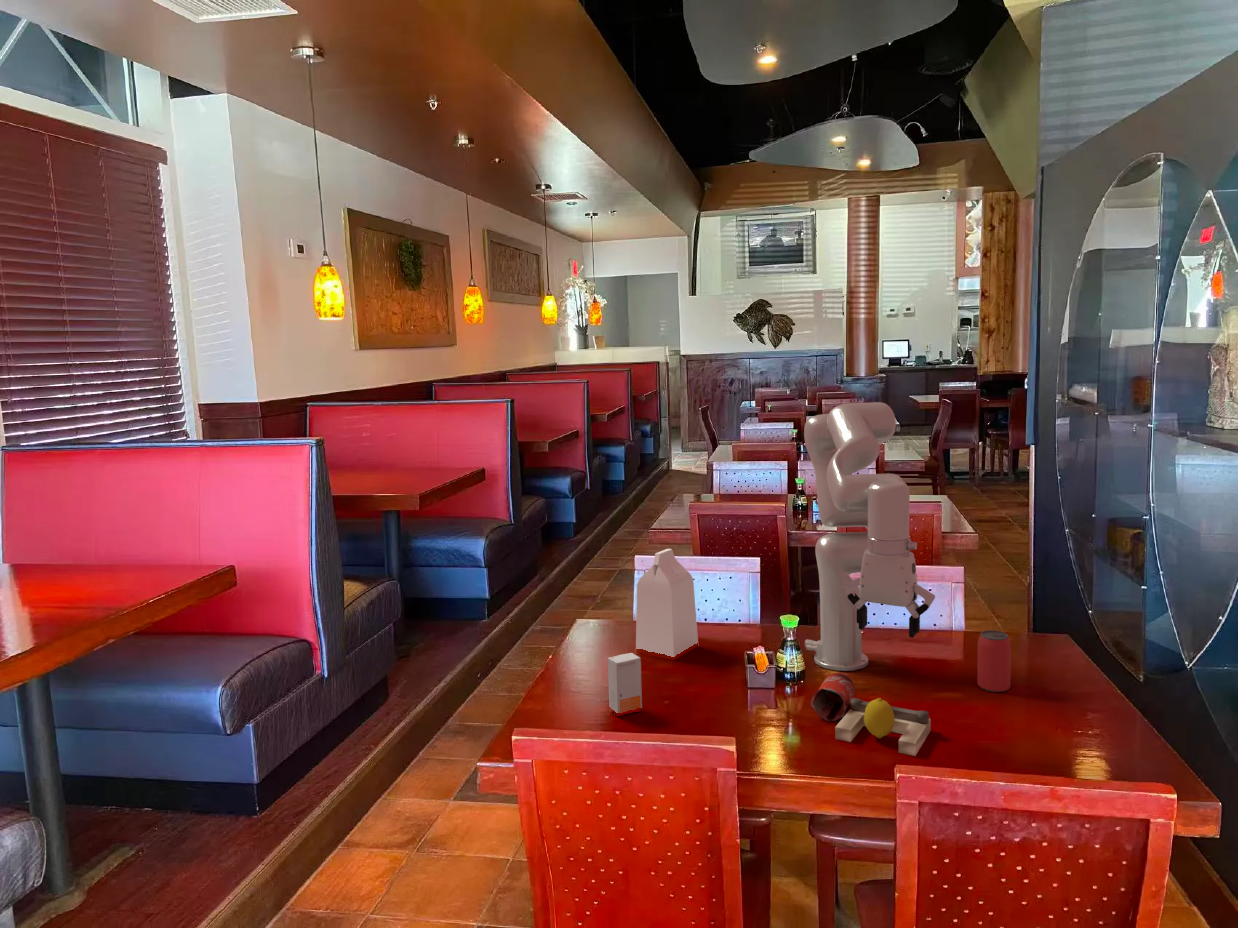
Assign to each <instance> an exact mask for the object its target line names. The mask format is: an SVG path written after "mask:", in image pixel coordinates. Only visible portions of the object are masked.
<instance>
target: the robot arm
mask: <svg viewBox="0 0 1238 928" xmlns="http://www.w3.org/2000/svg"><path fill="white" fill-rule="evenodd" d="M896 422H897V421H896V415H895V413H894V411H893V409H892V408H891V406H890V405H888V404H887V403H885V402H879V401H877V402H876V401H872V402H849V403H842V404H839V405H836V406H835V407H833V408H832V409H831V410H830V411H829V412H828V413H822V414H816V415H814V416H811V417H809V418H808V419H807V420H806V422H805V423H804V430H803V431H804V432H803V437H804V442H805V443H804V444H805V447H806V451H807V453H808V456H809V459H810V461H811V463H812V466H813V468H814V469H813V470H814V474H815V483H816V484H815V486H816V500H817V508H818V509H817V510H818V515H819V519H820V522H821V523H822V525H824V526H826V527H828V528H855V527H857V528H858V527H860V528H861V527H864V528H866V530H867V531H859V532H856V531H855V532H854V531H852V532H851V531H850V532H849V531H848V532H835V533H833V532H832V533H828V534H824V535H822V536H820V537H819V538H818V539H817V541H816V543H815V549H814V550H815V551H814V552H815V558H816V564H817V569H818V580H819V599H820V600H819V609H820V610H819V611H820V613H819V614H820V616H819V617H820V639H818V640H817V641H816V640H813V639H805V640H804V647H805V649H806V651H813V652H815V654H814V656H813V658H814V659H813V661H814V662H815V664H816V665H818V666H819V667H821V668H824V669H827V670H832V671H838V672H840V671H841V672H847V671H849V672H851V671H858V670H862V669H864V668H865V667H867V666H868V665H869V657H868V656H867V655H866V654H864V653H862V630H864V628H866V627H867V625H868V606H867V605H866V603H867V602H868V603H873V604H879V605H887V606H894V607H901V608H905V609H906V610H907V611H908V613H909V614H910V617H909V619H908V637H909V638H912V639H913V638H914V637H915V636H916V635H917V634H918V633H920V629H921V615H923V614H924V613H925V612H926V611H928V610H929V609H930V607H931V605H932V604H933V602H934V601H935V599H936V595H935V594H933V593H932V592H930V591H929V590H928V589H926V588H924V587H923V586H921V585H919V584H918V574H917V565H916V560H915V555H914V553H913V552H912V550H917V546H918V543H917V542H915V541H912V540H911V537H910V487H909V486H908V485H907V483H906V482H905V481H904V480H903V478H902V477H901V476H900V475H898V474H895V473H864V474H863V473H861V474H854V473H856V472H859V471H861V470H864V469H865V468H867V467H869V466H870V465H872V464H873V463H874V462H875V461H877V458H878V456H879V454H880V449H881V448H880V447H881V446H880V445H882V444H883V443H886V442H887V441H889V440H890V439H891V438H892V437H893V436H894V434H895V431H896V427H897V426H896V424H897V423H896ZM857 573H860V576H859V577H858V578H855V579H853V578H851V576H850V575H851V574H857ZM918 596H920V597H921V598H923V599H924V602H923V603H922V604H921V605H919V604H918V603H917V599H918Z"/></svg>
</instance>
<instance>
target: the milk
mask: <svg viewBox="0 0 1238 928" xmlns="http://www.w3.org/2000/svg"><path fill="white" fill-rule="evenodd" d="M675 556H676V555H675V554H674V551H673V549H672V548H666V549H663V550H661V551H658V552H656V553H655V554H654V559H653V560H654V561H653V565H652V566H651V567H649V569H647V571H646V572H645V573H644V574H642V576H641V577H640V578H639V579H638V581H637V584H636V617H635V618H636V619H635V622H636V623H635V631H636V632H635V650H636V649H643V650H646V651H648V652H655V653H658V654H659V653H660V654H665V655H667V656H671V657H675V656H676V655H677V654H680V653H681V652H683V651H684V650H686V649H688V648H689V647H691V646H693V645H694V644H697V643H698V644H699V635H698V624H697V623H698V621H697V610H696V609H697V608H696V597H695V596H696V595H695V586H694V584H695V583H694V578H693V576H692V574H691V573H690V572H689V571H688V570H687V569H686V568H685V567H684V565H682V563H680V562H679V561H678V559H676V557H675Z"/></svg>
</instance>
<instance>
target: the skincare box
mask: <svg viewBox="0 0 1238 928" xmlns="http://www.w3.org/2000/svg"><path fill="white" fill-rule="evenodd" d="M607 677H608V678H607V679H608V680H607V681H608V704H609V707H610V708H611V709H612V710H614V711H615V712H616V713H623V712H626V711H629V710H635V709H637V708H642V709H643V700H642V699H643V696H642V694H643V693H642V661H641V657H640V656H639V655H636V653H633V652H629V653H623V654H622V653H621V654H617V655H614V656H610V657H607Z"/></svg>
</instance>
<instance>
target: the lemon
mask: <svg viewBox="0 0 1238 928" xmlns="http://www.w3.org/2000/svg"><path fill="white" fill-rule="evenodd" d="M869 702H870V703H869V704H868V705H867V707H866V709H865V714H864V721H865V725H866V726H865V727H866V729H867V730H868V732H869V733H871V734H872V735H873V736H875V737H876V738H877V739H882V738H883V737H886V736H887V735H889V734H890V733H892V732H891V731H892V729H893V726H894V713H893V710H892V708H891V706H892V705H891V704H889V703H888V701H886V700H884V699H882V698H881V697H878V698H876V699H873V700H871V701H869Z"/></svg>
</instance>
